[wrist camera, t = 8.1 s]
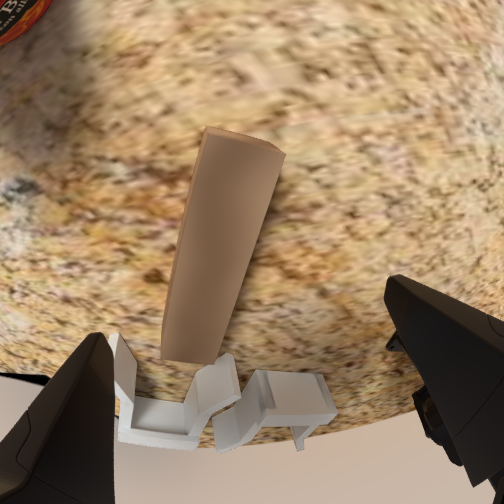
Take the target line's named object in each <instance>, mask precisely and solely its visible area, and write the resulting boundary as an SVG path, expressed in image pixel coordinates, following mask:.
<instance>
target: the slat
mask: <svg viewBox="0 0 504 504" xmlns="http://www.w3.org/2000/svg"><path fill="white" fill-rule="evenodd" d="M285 156H286V154H285V153H284V152H282V151H281V150H280V149H278V148H277V147H276V146H274V145H273V144H271V143H270V142H268V141H264V140H261V139H257V138H254V137H250V136H246V135H242V134H238V133H235V132H231V131H227V130H223V129H218V128H214V127H210V126H205V130H204V133H203V137H202V141H201V144H200V148H199V152H198V156H197V160H196V163H195V167H194V171H193V175H192V179H191V183H190V187H189V192H188V196H187V200H186V204H185V209H184V213H183V218H182V222H181V227H180V231H179V236H178V241H177V246H176V250H175V255H174V260H173V266H172V271H171V276H170V281H169V287H168V293H167V298H166V304H165V310H164V316H163V322H162V335H161V358H160V359H162V360H170V361H179V362H188V363H197V364H208V365H214V364H215V361H216V358H217V355H218V352H219V350H220V347H221V344H222V341H223V338H224V335H225V332H226V329H227V326H228V323H229V320H230V317H231V314H232V311H233V309H234V306H235V303H236V300H237V297H238V294H239V291H240V288H241V285H242V282H243V279H244V276H245V273H246V270H247V267H248V265H249V262H250V259H251V256H252V253H253V250H254V247H255V244H256V241H257V238H258V235H259V232H260V229H261V226H262V223H263V221H264V218H265V215H266V212H267V209H268V206H269V203H270V200H271V197H272V194H273V191H274V188H275V185H276V182H277V179H278V176H279V174H280V171H281V168H282V165H283V162H284V159H285Z"/></svg>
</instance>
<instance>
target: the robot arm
mask: <svg viewBox="0 0 504 504" xmlns="http://www.w3.org/2000/svg"><path fill="white" fill-rule="evenodd" d="M384 302H385V305H386V307H387V309H388V312H389V314H390V316H391V318H392V320H393V323H394V325H395V327H396V329H397V332H396V334H395V335H394V336H393V338H392V339H391V340H390V342H389V343H388V344H387V346H386V347H387V349H388V351H402V352H405V353H406V354H407V355H408V357H409V358H410V360H411V361H412V363H413V364H414V366H415V367H416V368H417V370H418V372H419V373H420V375H421V377H422V379H423V381H424V383H425V385H424V386H422V387H421V388H420V389H419V390H418V391H415V392H414V393H413V394H412V397H413V400H414V405H415V407H416V410H417V412H418V415H419V417H420V420H421V422H422V425H423V428H424V431H425V435H426V437H427V438H431V439H432V440H433V441H434V442H435V443H436V444H437V445H439V446H443V448H444V450H445V451H446V454H447V455H448V457H449V459H450V461H451V462H452V463H454V464H456V465H458V466H462V465H464V467H465V470H466V472H467V475H468V477H469V480H470V482H471V484H472V486H473V487H475V486H477V485H479V484H480V483H482V482H483V481H485V480H486V479H488V480H489V481H490V483H491V485H492V486H493V488H494V490H495V492H496V494H495V498H494V501H493V504H504V321H501V320H499V319H497V318H495V317H493V316H491V315H489V314H487V315H486V313H484V312H482V311H480V310H478V309H476V308H474V307H472V306H470V305H467V304H465V303H463V302H461V301H459V300H457V299H454V298H452V297H450V296H448V295H446V294H443V293H441V292H439V291H437V290H434V289H432V288H430V287H428V286H426V285H423V284H421V283H419V282H417V281H414V280H412V279H410V278H407V277H405V276H403V275H400V274H397V275H393V276H390V277H388V279H387V283H386V288H385V293H384ZM114 416H115V381H114V354H113V351H112V349H111V347H110V345H109V343H108V342H107V340H106V338H105V336H104V334H103V333H101V332H95V333H90V334H88V335H87V337H86V338H85V339H84V340H83V341H82V342H81V344H80V345H79V346H78V347H77V348H76V349H75V351H74V352H73V353H72V354H71V355H70V356H69V358H68V359H67V360H66V361H65V362H64V364H63V365H62V366H61V367H60V368H59V370H58V371H57V372H56V373H55V375H54V376H53V377H52V378H51V379H50V381H49V382H48V383H47V384H46V386H45V387H44V388H43V389H42V391H41V392H40V393H39V395H38V396H37V397H36V398H35V400H34V401H33V402H32V403H31V405H30V406H29V407H28V410H26V411H25V412H24V414H23V415H22V416H21V418H20V419H19V421H18V422H17V423H16V424H15V425H14V427H13V428H12V429H11V431H10V432H9V433H8V434H7V435H6V436H5V437H4V439H3V440H2V441H1V442H0V504H115V496H114Z"/></svg>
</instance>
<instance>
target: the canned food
mask: <svg viewBox="0 0 504 504" xmlns="http://www.w3.org/2000/svg"><path fill="white" fill-rule="evenodd" d="M52 1H53V0H0V45H3V44H5V43H8V42H10V41H12V40H14V39H15V38H17V37H19V36H20V35H22V34H23V33H24V32H26V31H27V30H28V29H29V28H30V27H31V26H33V25H34V24H35V23H36V22H37V21H38V19H39V18H40V17H41V16H42V15H43V14H44V13H45V11H46V10H47V8H48V7H49V5H50V4H51V3H52Z"/></svg>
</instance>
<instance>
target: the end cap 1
mask: <svg viewBox="0 0 504 504" xmlns="http://www.w3.org/2000/svg"><path fill="white" fill-rule="evenodd" d="M108 343H109V345H110V347H111V349H112V351H113V354H114V381H115V395H116V396H117V397H118V398H119V400H120V401H121V404H120V415H119V428H118V441H121V442H126V443H132V444H139V445H145V446H153V447H161V448H169V449H180V450H192V451H194V450H195V449H196V448H197V446H198V444H199V443H200V439H199V436H200V434H201V433H202V431H203V429H204V427H205V426H206V424H207V422H208V420H209V419H210V417H211V414H213V413H215V412H217V411H219V410H220V409H222V408H224V407H226V406H228V405H230V404H232V403H233V402H235V401H237V400H239V399H241V398H242V397H241V392H240V387H239V382H238V376H237V371H236V366H235V361H234V356H233V355H231V354H229V353H228V352H226V353H225V354H223V355H222V356H220V357H219V358H217V359H216V361H215V364H214V365H206V366H205V367H203V368H202V369H200V370H199V371H197V372H196V373H195V375H194V378H193V380H192V383H191V385H190V388H189V390H188V393H187V395H186V398H185V400H184V403H179V402H171V401H164V400H158V399H151V398H145V397H140V396H134V395H135V383H136V371H137V361H136V360H135V358H134V356H133V355H132V353H131V351H130V350H129V348H128V347H127V345H126V343H125V341H124V340H123V338H122V336H121V335H120V333H113V334H110V337H109V341H108Z"/></svg>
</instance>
